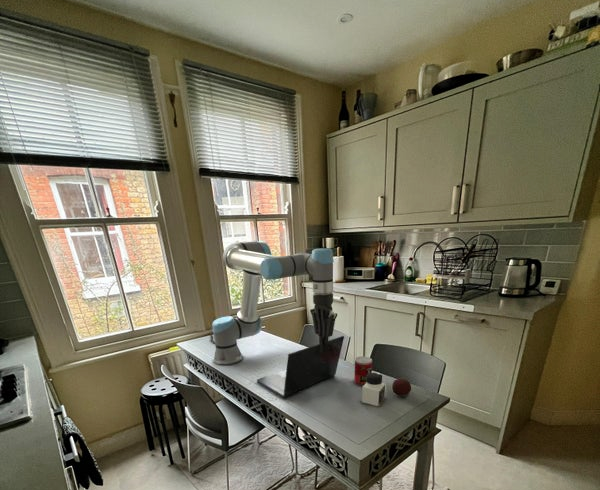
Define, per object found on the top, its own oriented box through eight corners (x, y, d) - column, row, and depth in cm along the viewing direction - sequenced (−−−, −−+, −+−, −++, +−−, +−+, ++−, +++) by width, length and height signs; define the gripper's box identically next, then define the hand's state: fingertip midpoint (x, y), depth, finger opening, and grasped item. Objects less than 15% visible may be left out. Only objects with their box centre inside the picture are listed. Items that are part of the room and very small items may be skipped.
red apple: (389, 390, 136) (390, 376, 133) (407, 390, 135) (409, 375, 132) (393, 399, 129) (395, 384, 126) (413, 399, 129) (414, 383, 126)
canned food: (361, 387, 140) (362, 364, 135) (350, 380, 146) (351, 358, 142) (375, 383, 143) (376, 360, 138) (364, 376, 149) (364, 355, 145)
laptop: (257, 383, 148) (256, 379, 148) (305, 364, 165) (305, 361, 165) (283, 399, 133) (283, 395, 133) (334, 377, 150) (334, 373, 149)
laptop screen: (288, 354, 120) (289, 355, 120) (342, 335, 137) (344, 336, 137) (283, 395, 133) (284, 396, 132) (334, 373, 149) (335, 374, 149)
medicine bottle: (378, 406, 124) (380, 379, 120) (361, 402, 128) (362, 375, 123) (384, 398, 130) (386, 372, 125) (367, 394, 133) (369, 369, 129)
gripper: (304, 292, 120) (306, 350, 130) (327, 296, 110) (328, 359, 120) (318, 289, 124) (319, 345, 134) (342, 293, 115) (342, 353, 124)
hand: (323, 351), depth 127 cm, fingers closed
